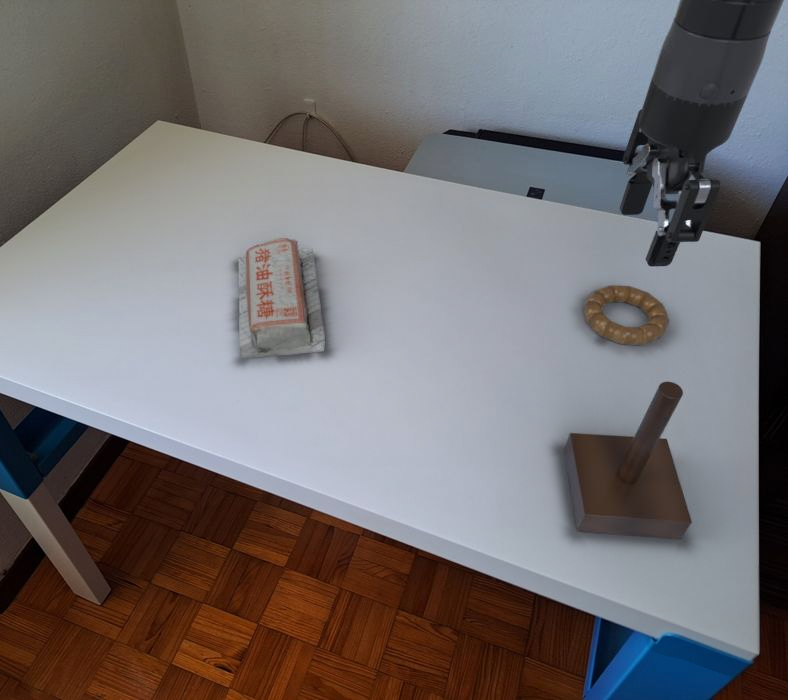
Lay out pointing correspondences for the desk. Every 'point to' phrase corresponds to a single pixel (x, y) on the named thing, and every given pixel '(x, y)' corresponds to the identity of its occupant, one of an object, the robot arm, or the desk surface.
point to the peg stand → (629, 477)
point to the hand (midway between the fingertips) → (642, 237)
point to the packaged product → (279, 301)
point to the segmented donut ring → (619, 332)
